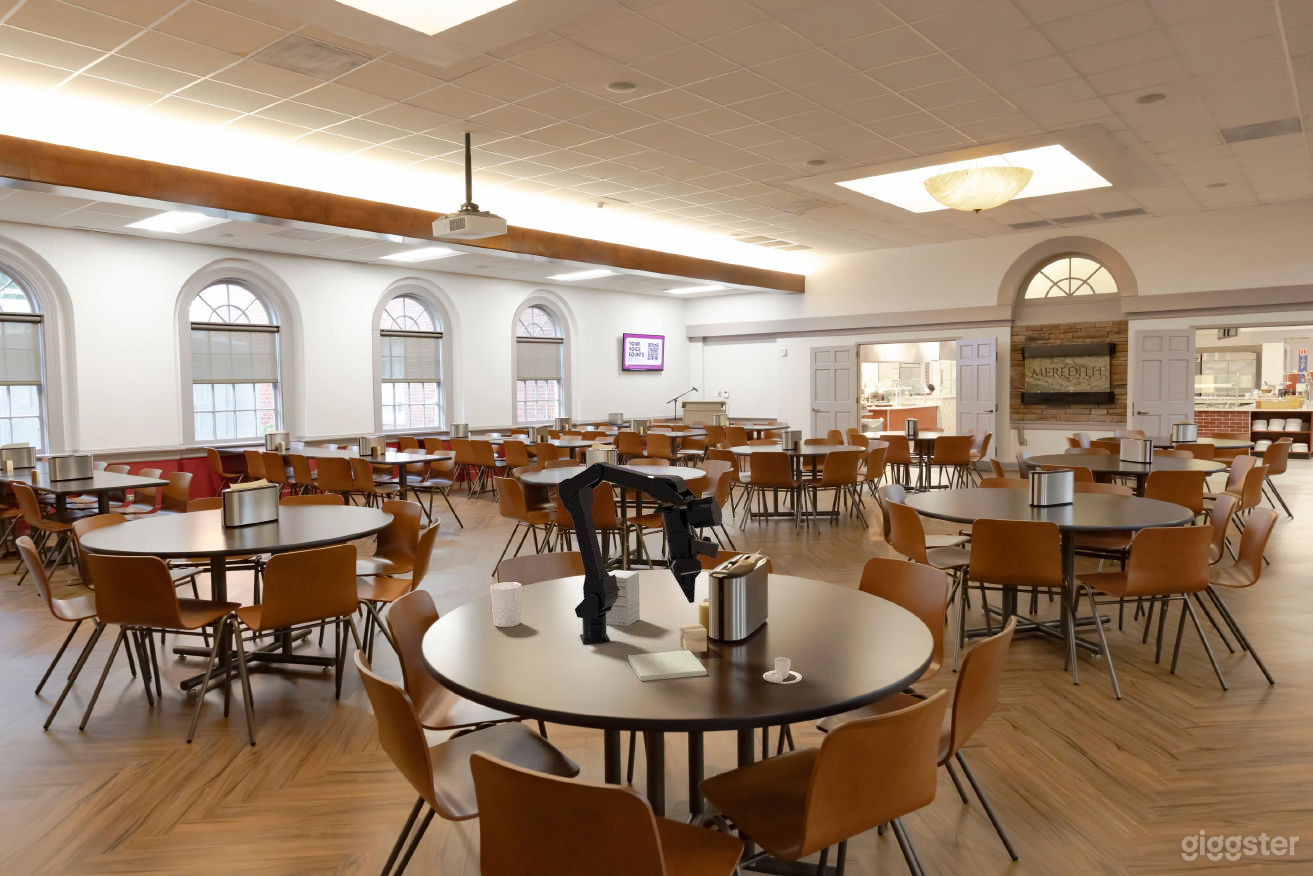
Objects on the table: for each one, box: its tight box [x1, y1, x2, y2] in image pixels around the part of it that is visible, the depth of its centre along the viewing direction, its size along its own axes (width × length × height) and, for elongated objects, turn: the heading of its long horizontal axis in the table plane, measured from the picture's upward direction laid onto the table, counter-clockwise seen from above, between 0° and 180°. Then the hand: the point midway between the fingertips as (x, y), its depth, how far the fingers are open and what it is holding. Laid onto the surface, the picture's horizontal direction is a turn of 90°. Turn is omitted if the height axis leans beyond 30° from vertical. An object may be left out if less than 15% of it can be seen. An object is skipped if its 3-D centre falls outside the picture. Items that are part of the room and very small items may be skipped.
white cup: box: [490, 581, 523, 628], centre depth 213 cm, size 8×8×10 cm
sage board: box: [627, 650, 707, 682], centre depth 177 cm, size 14×14×1 cm
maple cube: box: [679, 623, 708, 653], centre depth 190 cm, size 5×5×5 cm
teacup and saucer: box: [762, 656, 803, 685], centre depth 170 cm, size 9×8×4 cm
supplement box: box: [606, 569, 641, 627], centre depth 213 cm, size 7×7×13 cm
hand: (689, 599), depth 187 cm, fingers open, 9 cm apart
